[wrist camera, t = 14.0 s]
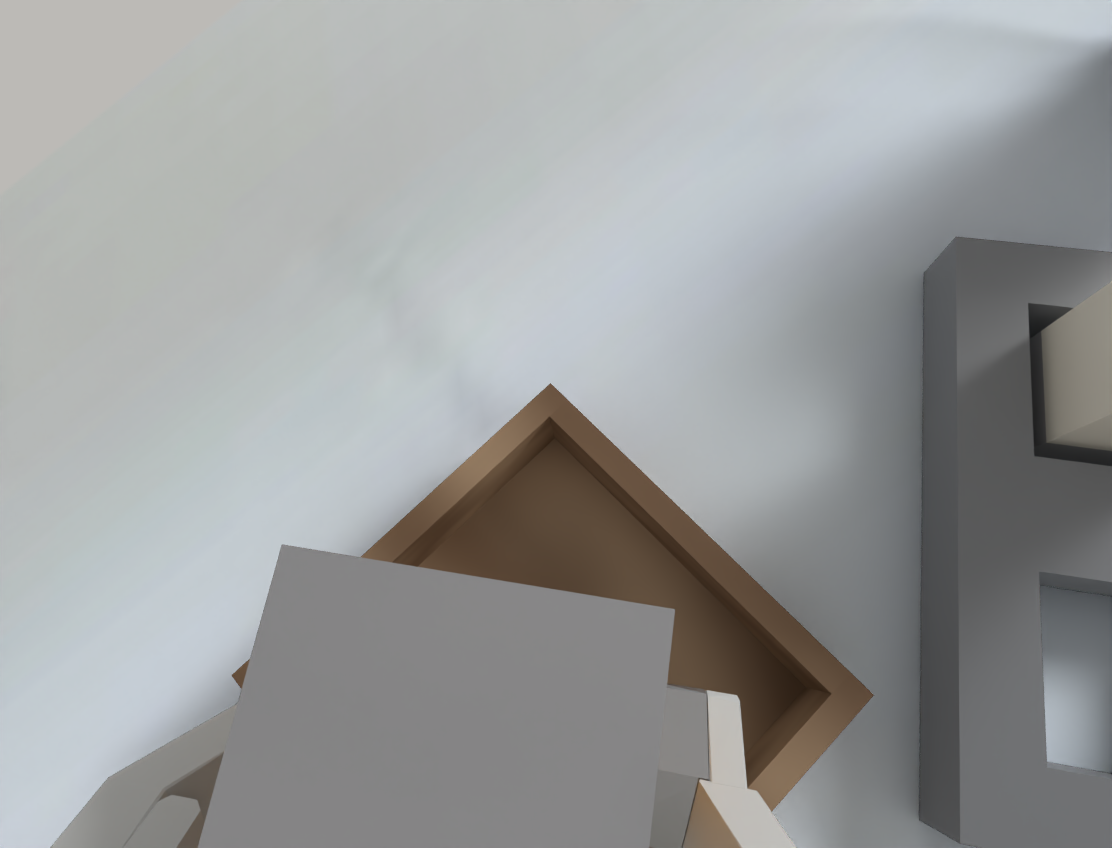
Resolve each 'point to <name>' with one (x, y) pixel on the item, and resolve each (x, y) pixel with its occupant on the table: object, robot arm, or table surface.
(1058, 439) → the block
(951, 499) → the fuse block
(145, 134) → the table surface
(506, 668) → the block
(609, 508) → the tray
